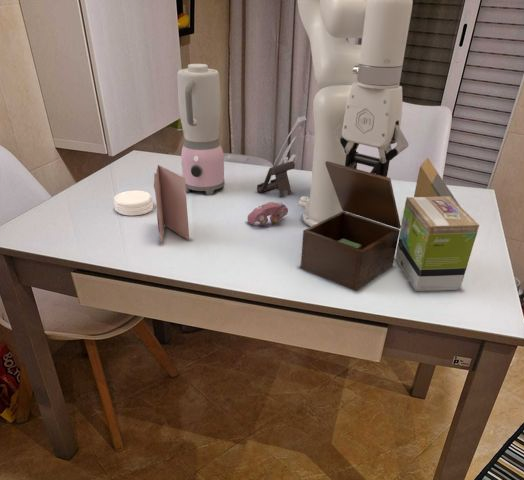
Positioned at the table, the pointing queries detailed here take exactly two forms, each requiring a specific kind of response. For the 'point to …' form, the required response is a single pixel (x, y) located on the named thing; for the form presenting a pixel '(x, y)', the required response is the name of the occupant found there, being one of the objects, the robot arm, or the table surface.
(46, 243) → the table surface
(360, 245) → the green block
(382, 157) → the robot arm
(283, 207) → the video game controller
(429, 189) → the sandwich container
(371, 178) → the lid
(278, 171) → the tablet stand
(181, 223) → the greeting card
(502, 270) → the table surface
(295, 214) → the table surface
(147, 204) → the coaster
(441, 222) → the tea box
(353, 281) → the wooden box
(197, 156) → the blender
